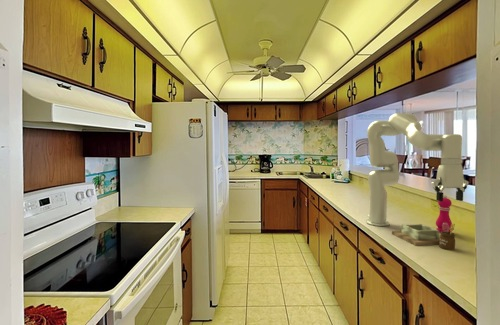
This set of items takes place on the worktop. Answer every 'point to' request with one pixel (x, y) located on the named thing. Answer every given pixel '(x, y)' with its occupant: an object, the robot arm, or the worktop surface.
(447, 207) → the pepper mill
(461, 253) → the worktop surface
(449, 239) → the utensil holder
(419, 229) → the collar stand
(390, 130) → the robot arm
